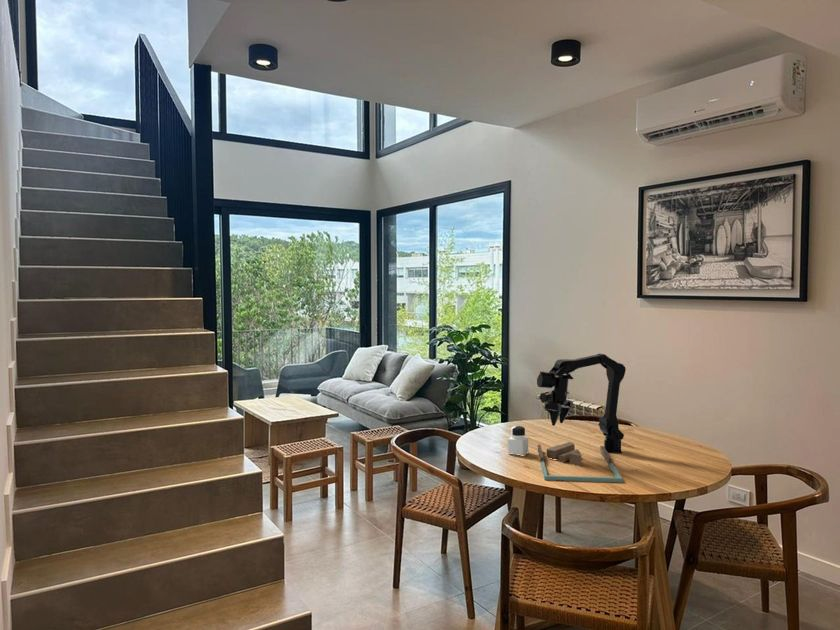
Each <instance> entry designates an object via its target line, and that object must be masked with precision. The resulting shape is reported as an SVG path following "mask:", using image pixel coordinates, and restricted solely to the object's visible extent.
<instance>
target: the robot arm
mask: <svg viewBox="0 0 840 630" xmlns="http://www.w3.org/2000/svg"><path fill="white" fill-rule="evenodd" d="M599 364H600V365H601V367H602V368H604V369H606V370H605V371H606V372H605V373H606V377H607V381H608V382H607V383H608V384H607V393H606V400H605V402H606V403H605V411H604V413H603V416H601V415H600V416H599V419H598V420H599V423H598V426H599V429H600V431H601V432H602V434H603V436H604V440H603V446H604V448H605V449H606V451H607V452H608V454H610V453H611V454H612V453H614V454H615V453H616V454H617V453H619V454H622V453H623V451H622V440H623V439H624V437H625V434H624V433H623V432H622V431H621V430H620V429H619V420H618V417H617V411H618V403H619V395H620V393H619V392H620V386H621V382H623V380H624V377H625V375H626V369H627V367H626V366H625V365H624V364H623V363H620V362H617V361H615V360H614V359H612V358H610V357H609V356H607V354H605V353H604V354H603V353H597V354H594V355H589V356H583V357H580V358H579V357H578V358H575V359H568V358H566V359H565V358H561V359H558V360H555V363H554V365H553V366H552V368H551V369H550V370H549V371H548V372H546V371H539V374H538V376H537V378H536V384H537V387H538V388H543V389H545V388H546V389H553V390H551V393H548V394H547V393H546V392H541V393H540V395H539V400H540V403H542V404H544V409H545V410H546V412H548V414H549V416H550V421H551V426H556V423H557V421H558V419H559V423H560V424H563V423H564V421H565V419H566V418H567V416H568V414H569V412H570V411H571V410H572V408H574V402H573V401H572V400H571V399H568V398H567V397H568V395H569V393H570V392H569V391H568V387H569V380H574V377H573V376H572V375H571V373H574V372H575V371H576V370H578V369H582V368H586V367H590V366H595V365H599Z"/></svg>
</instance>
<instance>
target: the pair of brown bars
mask: <svg viewBox="0 0 840 630" xmlns="http://www.w3.org/2000/svg"><path fill="white" fill-rule="evenodd" d="M599 447H600V452H601V453H600V454H601V456H602V457H604V458H603V459H604V461H605V462H606V464H607V465H608V466H609V463H613V459H612V457H611V455H610V453H608V452H607V451H606V449H605V448H604V445H600V446H599ZM537 453H539V454H538V458H539V457H540V459H539V463H540V462H541V461H543V462H544V463H545V457H544V454H543V448H542V445H541V444H537Z"/></svg>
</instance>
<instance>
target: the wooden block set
mask: <svg viewBox="0 0 840 630" xmlns="http://www.w3.org/2000/svg"><path fill="white" fill-rule="evenodd" d="M575 448H576V446H575V444H574V443H573V442H571V441H569V442H568V441H567V442H565V443H562V444H557V445H554V446H552V447H547V448H546V458H547V457H548V458H552V459H558V460H557V461H559V463H561V462H564V463H566V462H569V465H573V464H574V466H577V465H578V466H577V467H582V454H581V452H580V450H579V449H575Z"/></svg>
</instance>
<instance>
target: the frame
mask: <svg viewBox="0 0 840 630" xmlns="http://www.w3.org/2000/svg"><path fill="white" fill-rule="evenodd" d="M540 466H542V467H541V471H542V474H543V475H544V476H543V479H544V481H556V480H564V482H591V483H592V482H594V483H596V482H597V483H598V482H599V483H622V484H623V477H622V475H621V474H620V473H619V471H618V469H617V468H616V467H615V465H614V464H613V462H612V463H609V465H608V467H609V468H610V470H611V472H612V473H613V475H614V477H612V476H580V475H579V476H578V475H551V474H550V475H548V472H547V468H546V464H545V461H544V462H543V461H541V463H540Z"/></svg>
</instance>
